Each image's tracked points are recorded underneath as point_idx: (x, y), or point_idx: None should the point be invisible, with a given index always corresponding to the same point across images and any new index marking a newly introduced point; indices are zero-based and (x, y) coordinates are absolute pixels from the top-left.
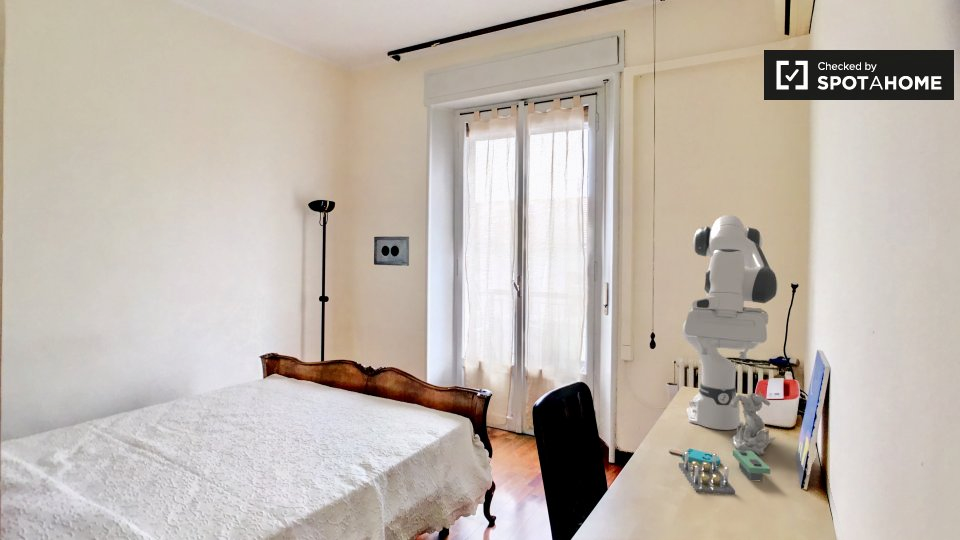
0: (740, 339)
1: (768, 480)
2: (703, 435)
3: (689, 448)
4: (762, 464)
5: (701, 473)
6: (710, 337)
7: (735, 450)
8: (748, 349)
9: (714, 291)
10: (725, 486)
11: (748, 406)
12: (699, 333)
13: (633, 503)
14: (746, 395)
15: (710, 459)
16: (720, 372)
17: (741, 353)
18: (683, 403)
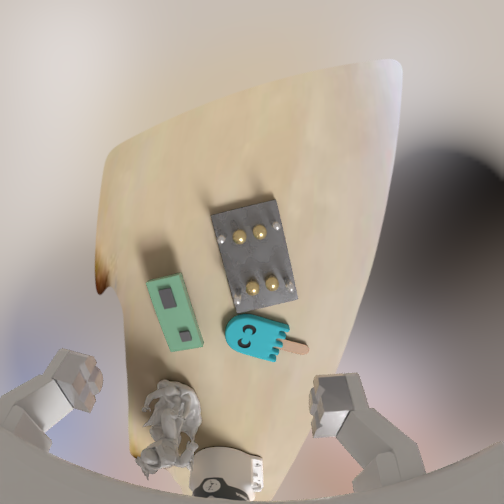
0: (26, 445)
1: None
2: (244, 426)
3: (274, 361)
4: (156, 297)
5: (262, 266)
6: (317, 499)
7: (197, 346)
8: (24, 383)
9: None
10: (225, 226)
11: (167, 447)
12: (438, 491)
13: (366, 131)
14: (167, 464)
15: (242, 327)
16: None
17: (70, 371)
18: (264, 499)
